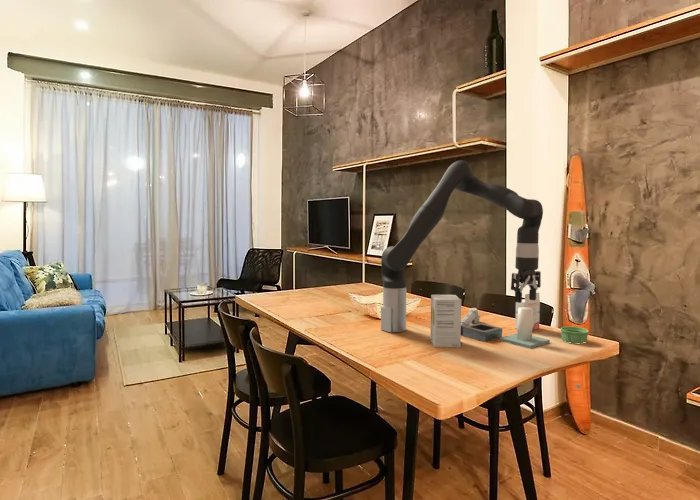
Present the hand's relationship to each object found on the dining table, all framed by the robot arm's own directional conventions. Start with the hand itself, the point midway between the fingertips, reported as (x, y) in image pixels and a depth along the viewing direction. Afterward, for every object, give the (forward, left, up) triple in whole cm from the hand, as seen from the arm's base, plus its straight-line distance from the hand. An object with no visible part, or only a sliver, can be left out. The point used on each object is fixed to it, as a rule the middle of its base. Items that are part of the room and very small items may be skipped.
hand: (525, 301), depth 156 cm
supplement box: (-25, +15, -15) cm, 33 cm away
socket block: (-7, +13, -15) cm, 21 cm away
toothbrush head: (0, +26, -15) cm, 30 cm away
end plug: (0, 0, -14) cm, 14 cm away
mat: (0, 0, -15) cm, 15 cm away
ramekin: (+15, -10, -15) cm, 24 cm away
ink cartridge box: (+17, +10, -15) cm, 25 cm away
